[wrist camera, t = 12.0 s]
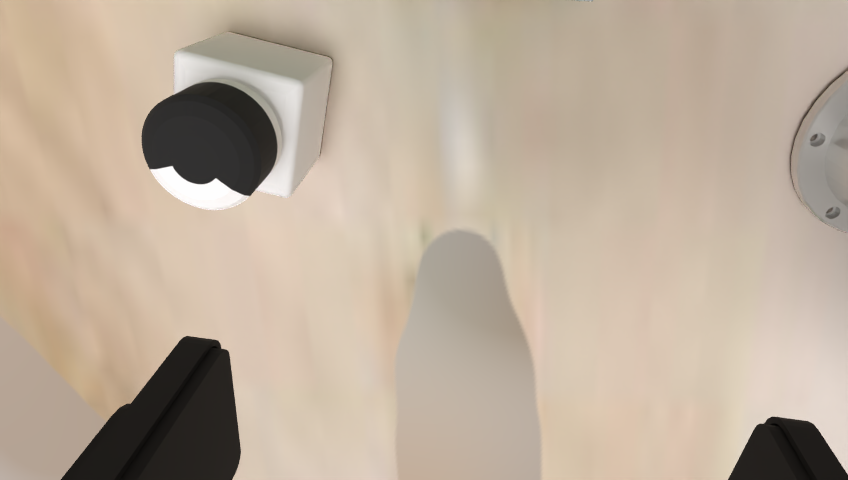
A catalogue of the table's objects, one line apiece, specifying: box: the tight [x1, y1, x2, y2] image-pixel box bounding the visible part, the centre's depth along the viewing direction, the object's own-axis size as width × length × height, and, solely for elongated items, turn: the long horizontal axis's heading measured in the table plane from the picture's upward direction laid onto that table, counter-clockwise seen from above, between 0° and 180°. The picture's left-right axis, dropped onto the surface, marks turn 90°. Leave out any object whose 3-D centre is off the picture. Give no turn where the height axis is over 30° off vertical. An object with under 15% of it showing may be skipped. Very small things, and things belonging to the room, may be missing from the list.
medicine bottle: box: [142, 32, 333, 210], centre depth 32 cm, size 7×7×12 cm
